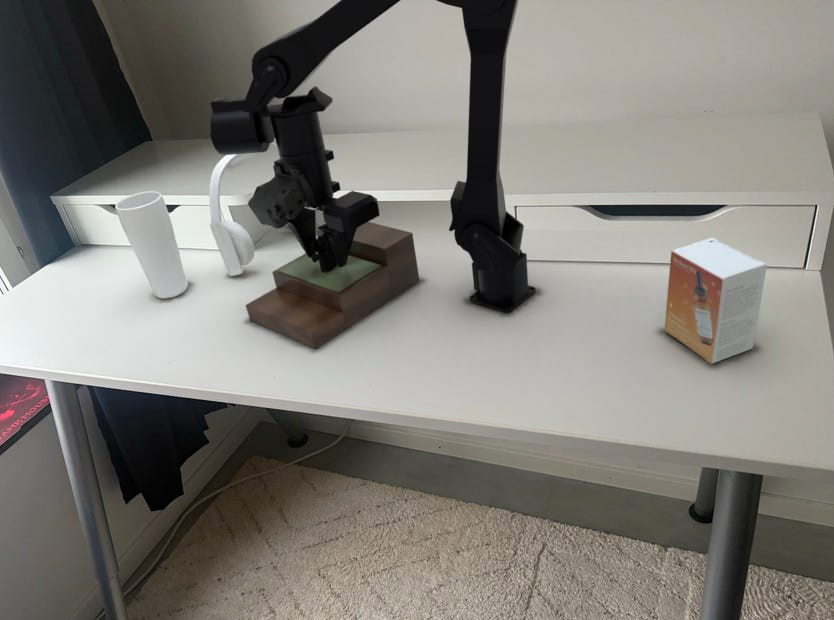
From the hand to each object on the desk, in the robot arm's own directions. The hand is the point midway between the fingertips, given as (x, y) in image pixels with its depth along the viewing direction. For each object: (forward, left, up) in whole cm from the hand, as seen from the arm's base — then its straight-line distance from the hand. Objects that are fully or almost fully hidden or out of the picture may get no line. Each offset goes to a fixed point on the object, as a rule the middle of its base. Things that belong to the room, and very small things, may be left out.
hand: (327, 261), depth 97 cm
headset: (+22, -6, -6) cm, 24 cm away
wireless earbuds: (0, 0, -1) cm, 1 cm away
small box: (-46, -15, -6) cm, 49 cm away
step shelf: (0, 0, -6) cm, 6 cm away
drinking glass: (+26, +11, -6) cm, 29 cm away
